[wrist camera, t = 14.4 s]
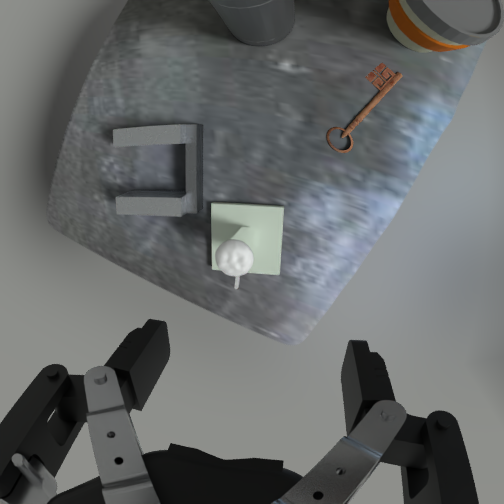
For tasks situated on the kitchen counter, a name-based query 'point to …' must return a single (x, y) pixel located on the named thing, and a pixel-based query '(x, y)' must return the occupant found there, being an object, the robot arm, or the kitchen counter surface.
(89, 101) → the kitchen counter surface
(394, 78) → the key
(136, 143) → the grey u-shaped bracket
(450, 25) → the reusable coffee cup
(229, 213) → the mat
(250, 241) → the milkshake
